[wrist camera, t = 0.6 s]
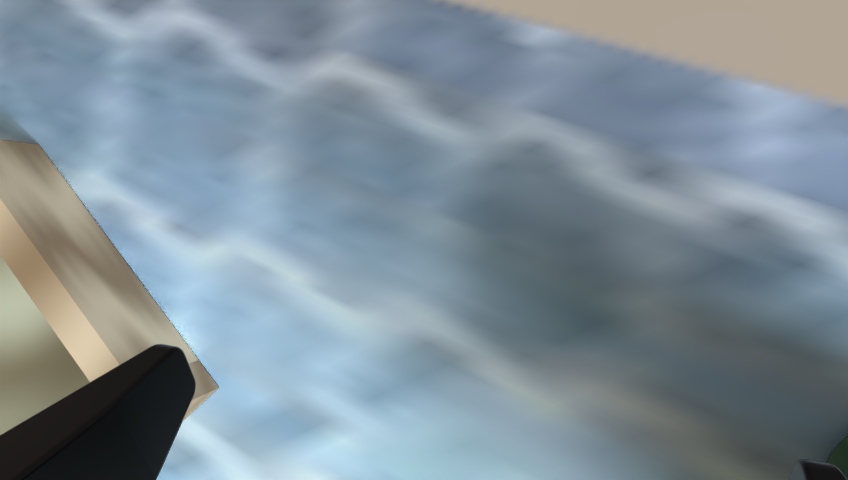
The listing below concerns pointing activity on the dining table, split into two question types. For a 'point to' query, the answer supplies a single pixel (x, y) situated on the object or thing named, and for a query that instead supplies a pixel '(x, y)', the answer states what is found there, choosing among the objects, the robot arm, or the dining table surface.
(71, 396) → the robot arm
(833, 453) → the coffee jar
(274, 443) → the dining table surface
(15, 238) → the arena
